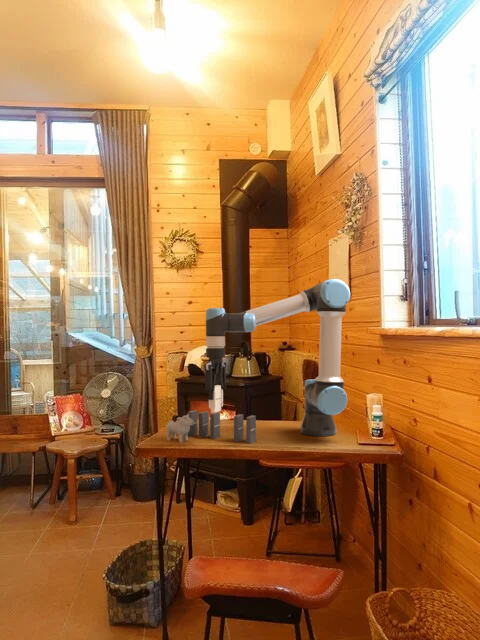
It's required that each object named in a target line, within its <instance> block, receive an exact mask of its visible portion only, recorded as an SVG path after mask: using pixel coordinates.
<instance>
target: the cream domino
mask: <svg viewBox="0 0 480 640" xmlns="http://www.w3.org/2000/svg"><path fill="white" fill-rule="evenodd" d="M214 391H216V408H215V409H214V408H210V414H212V413H216V412H222V406H221V385H217V384H215V390H214Z"/></svg>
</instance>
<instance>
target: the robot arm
mask: <svg viewBox="0 0 480 640" xmlns="http://www.w3.org/2000/svg"><path fill="white" fill-rule="evenodd" d="M350 299H351V291H350V287H349V285H347V283H345V282H344V280H343V281H342V280H341V279H337V278H332V279H327V280H325V281H322V282H320V283H317V284H316V285H314V286H312V287H310V288H308V289H304V290H302V291H300V293H299V294H296V295H293V296H291V297H287V298H283V299H281V300H277V301H274V302H270V303H267V304H264V305H261V306H258V307H255V308H252V309H248V310H245V311H241V312H237V313H235V312H232V313H231V312H230V313H229V312H226V310H225V308H223V307H211V308H210V307H209V308H207V309H206V311H205V347H207V348H206V349H205V357H206V358H208V362H207V363H206V364H204V365H203V366H204V389H205V391H206V392H208V409H211V408H214V409H215V408H216V391H214V390H215V385H221V407H223V406H224V390H226V389H227V388H226V387H227V369H226V368H227V362H226V361H225V362H224V361H223V358H226V348H225V347H226V333H252V332H254V331H255V330H256V327H257V326H261V325H265V324H268V323H271V322H275V321H277V320H280V319H285V318H287V317H291V316H294V315H296V314H299V313H300V314H301V313H303V312H305V313H311V312H313V311H314V312H315V311H316V313H317V314H318V316H319V317H320V319H319V347H318V348H319V352H318V355H319V356H318V376H316V377H315V378H314V379H306V380H304V386H303V388H304V416H303V419H302V422H301V425H300V433H301V434H304V435H308V436H313V437H314V436H315V437H327V436H328V437H331V436H334V435H336V434H337V426H336V422H335V420H334V417H333V416H336V415H339V414H341V413H342V412H343V411H344V410H345V409H346V408H347V405H348V395H347V392H346V391H345V381H344V379H343V378H342V377H341V366H342V365H341V362H342V361H341V359H342V355H341V354H342V326H343V323H342V321H343V320H342V319H343V316H345V315H346V313H347V304H348V303H349V301H350Z"/></svg>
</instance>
